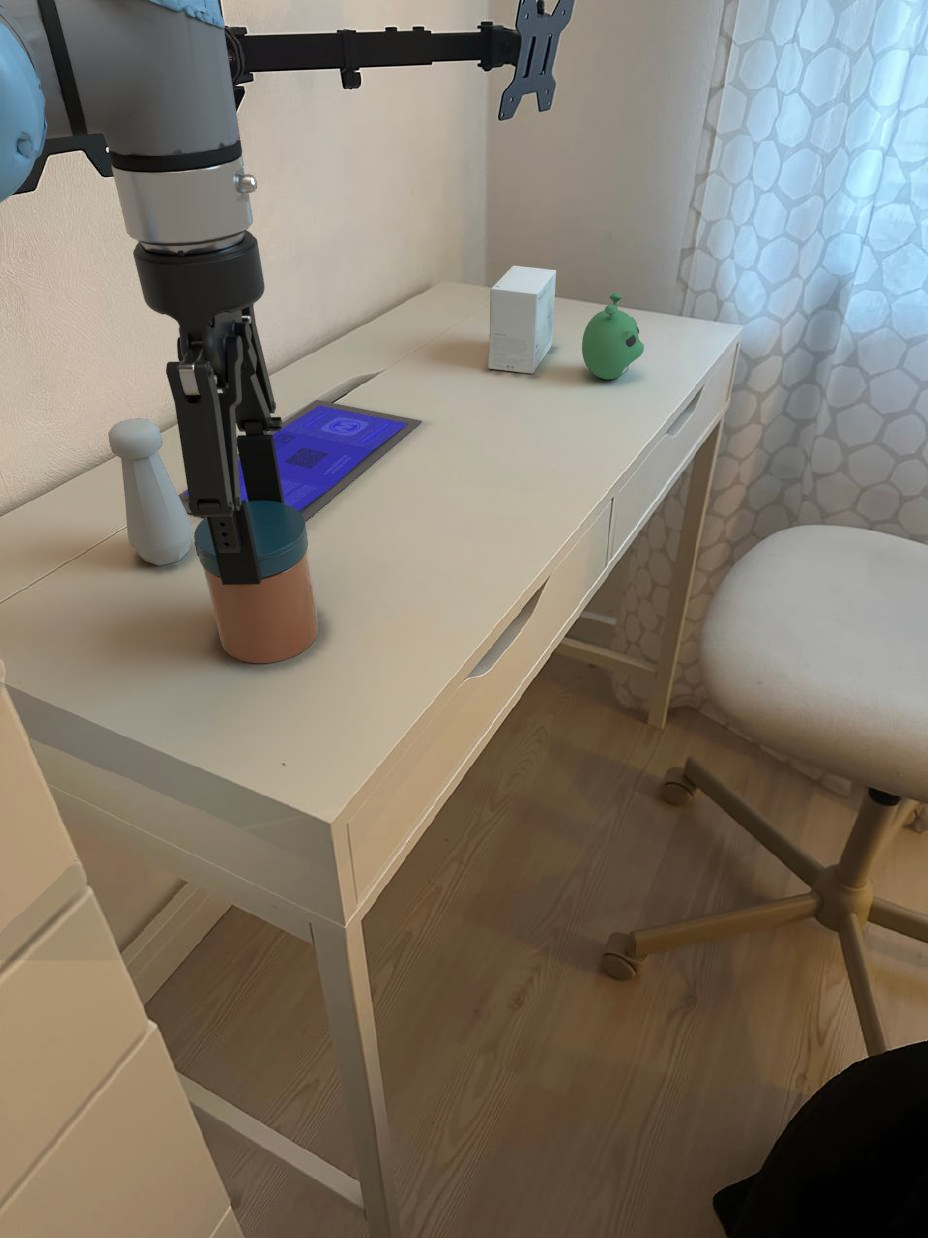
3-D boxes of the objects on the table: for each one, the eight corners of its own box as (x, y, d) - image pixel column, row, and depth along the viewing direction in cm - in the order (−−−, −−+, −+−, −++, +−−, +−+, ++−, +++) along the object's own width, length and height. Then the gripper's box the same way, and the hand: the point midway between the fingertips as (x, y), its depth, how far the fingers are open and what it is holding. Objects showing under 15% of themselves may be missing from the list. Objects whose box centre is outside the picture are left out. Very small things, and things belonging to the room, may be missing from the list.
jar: (222, 671, 70) (198, 570, 64) (219, 612, 76) (196, 514, 70) (324, 654, 71) (309, 553, 66) (313, 597, 78) (298, 500, 72)
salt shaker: (209, 541, 85) (180, 413, 77) (178, 574, 81) (144, 443, 73) (154, 533, 86) (120, 407, 78) (121, 565, 82) (81, 435, 74)
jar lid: (199, 587, 65) (193, 566, 64) (197, 529, 71) (192, 508, 70) (314, 570, 66) (310, 548, 65) (302, 514, 73) (299, 494, 72)
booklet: (408, 423, 104) (408, 417, 104) (285, 526, 86) (284, 520, 86) (319, 405, 108) (318, 400, 108) (184, 500, 91) (183, 494, 90)
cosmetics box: (535, 375, 115) (538, 292, 109) (487, 369, 117) (487, 288, 110) (554, 346, 123) (557, 267, 117) (509, 341, 125) (510, 263, 118)
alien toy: (637, 391, 111) (645, 310, 105) (575, 385, 112) (580, 305, 106) (643, 369, 116) (651, 291, 110) (584, 364, 118) (589, 287, 112)
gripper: (212, 292, 46) (279, 632, 60) (285, 192, 63) (324, 473, 77) (68, 296, 46) (168, 634, 60) (180, 194, 64) (237, 475, 77)
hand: (255, 543), depth 69 cm, fingers open, 9 cm apart
